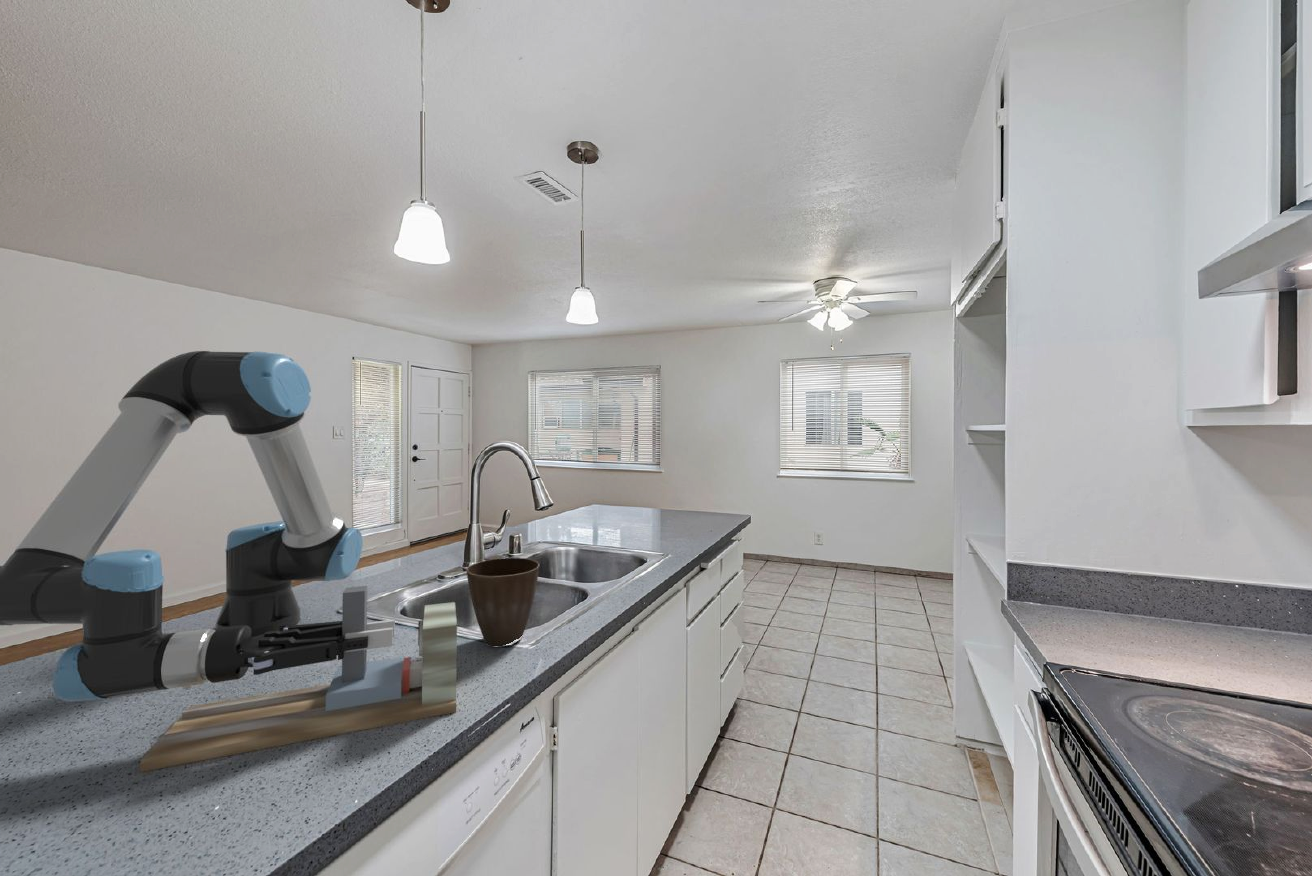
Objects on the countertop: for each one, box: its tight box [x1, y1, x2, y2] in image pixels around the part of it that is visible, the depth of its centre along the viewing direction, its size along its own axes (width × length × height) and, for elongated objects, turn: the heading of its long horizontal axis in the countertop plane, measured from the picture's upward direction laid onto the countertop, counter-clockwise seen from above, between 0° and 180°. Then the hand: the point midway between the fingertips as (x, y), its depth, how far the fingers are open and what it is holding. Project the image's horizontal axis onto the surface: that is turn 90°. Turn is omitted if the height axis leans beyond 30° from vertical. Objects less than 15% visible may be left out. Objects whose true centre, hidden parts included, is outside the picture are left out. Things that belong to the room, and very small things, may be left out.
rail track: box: [139, 601, 458, 773], centre depth 79 cm, size 14×38×14 cm, turn 113°
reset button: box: [402, 656, 422, 694], centre depth 85 cm, size 5×7×4 cm
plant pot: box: [466, 557, 540, 647], centre depth 108 cm, size 15×15×16 cm
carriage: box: [326, 585, 406, 711], centre depth 81 cm, size 10×10×16 cm
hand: (393, 632), depth 83 cm, fingers open, 3 cm apart
